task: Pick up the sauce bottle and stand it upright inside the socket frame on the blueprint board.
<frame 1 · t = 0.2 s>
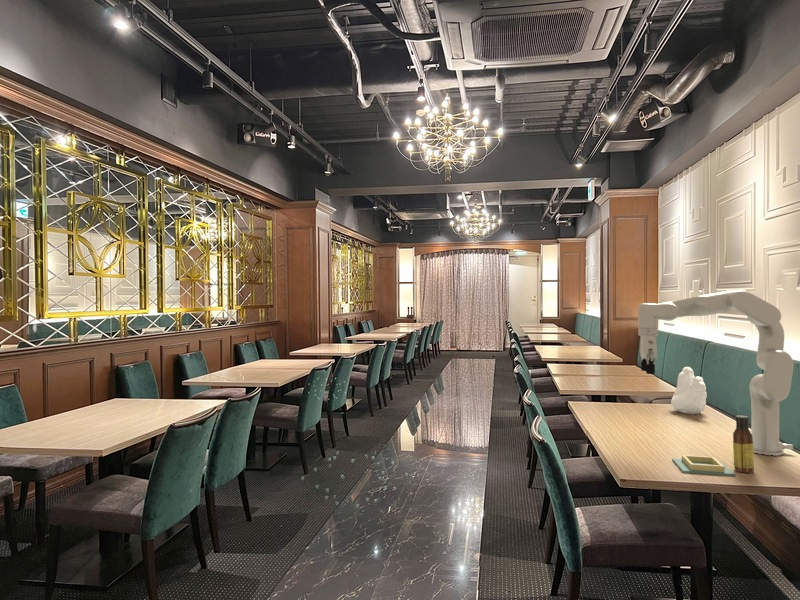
hand: (647, 372, 232), 31 cm above the table, tool pointing down, fingers open, 9 cm apart
sauce bottle: (743, 471, 198), on the table
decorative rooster: (689, 414, 294), on the table
blueprint board: (702, 468, 201), on the table
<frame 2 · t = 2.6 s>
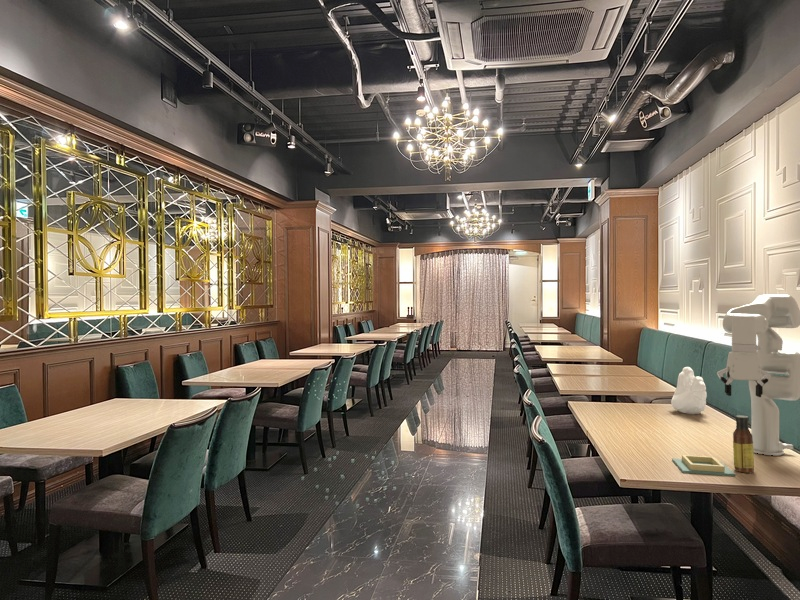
hand: (743, 395, 197), 27 cm above the table, tool pointing down, fingers open, 9 cm apart
nothing on the table moved.
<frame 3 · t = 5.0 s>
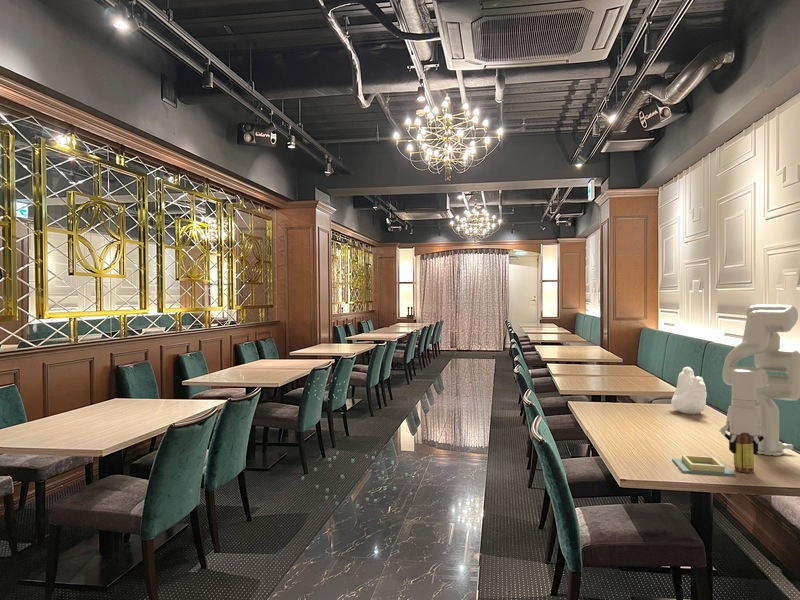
hand: (743, 452, 198), 7 cm above the table, tool pointing down, fingers closed on sauce bottle, 6 cm apart
sauce bottle: (743, 471, 198), on the table, touching gripper
everything else where it was.
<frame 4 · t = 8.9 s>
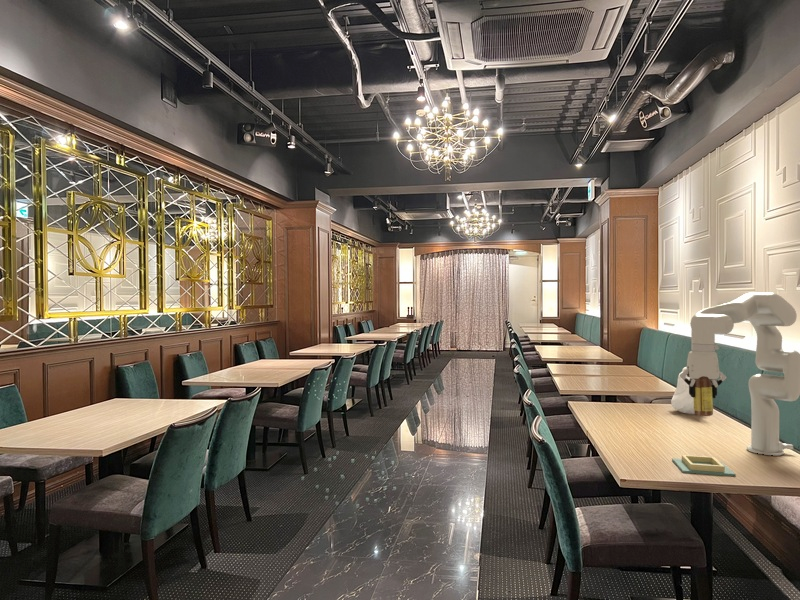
hand: (702, 396, 201), 26 cm above the table, tool pointing down, fingers closed on sauce bottle, 6 cm apart
sauce bottle: (702, 415, 201), point 20 cm above the table, touching gripper
everything else where it was.
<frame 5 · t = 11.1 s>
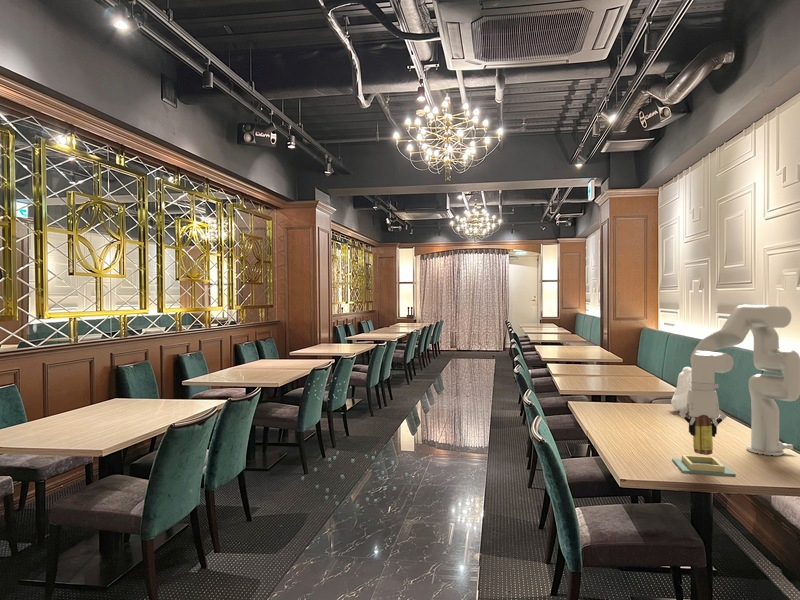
hand: (702, 435, 201), 12 cm above the table, tool pointing down, fingers closed on sauce bottle, 6 cm apart
sauce bottle: (702, 453, 201), point 5 cm above the table, touching gripper
everything else where it was.
when the fingers open (9 cm above the table, at t = 12.9 s): sauce bottle drops 1 cm, resting on blueprint board.
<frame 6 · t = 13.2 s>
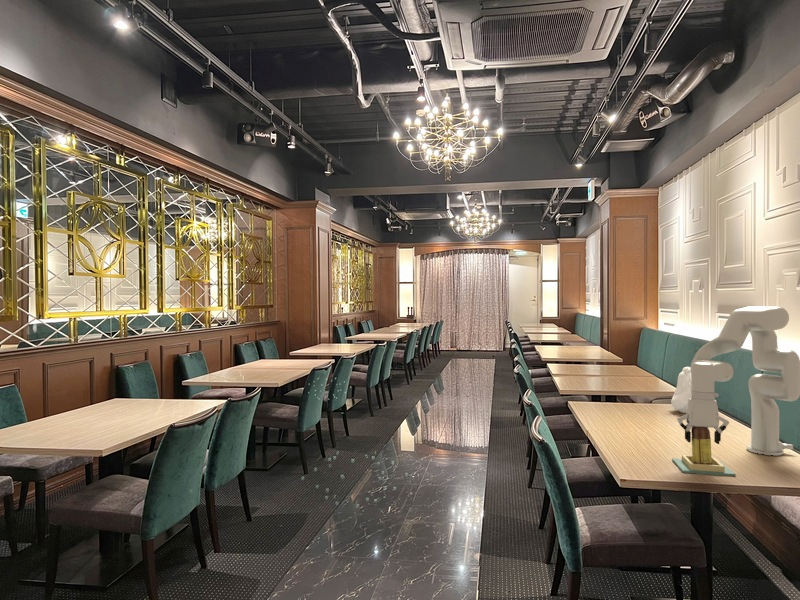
hand: (702, 442, 201), 10 cm above the table, tool pointing down, fingers open, 9 cm apart
sauce bottle: (701, 466, 201), point 1 cm above the table, touching blueprint board
everything else where it was.
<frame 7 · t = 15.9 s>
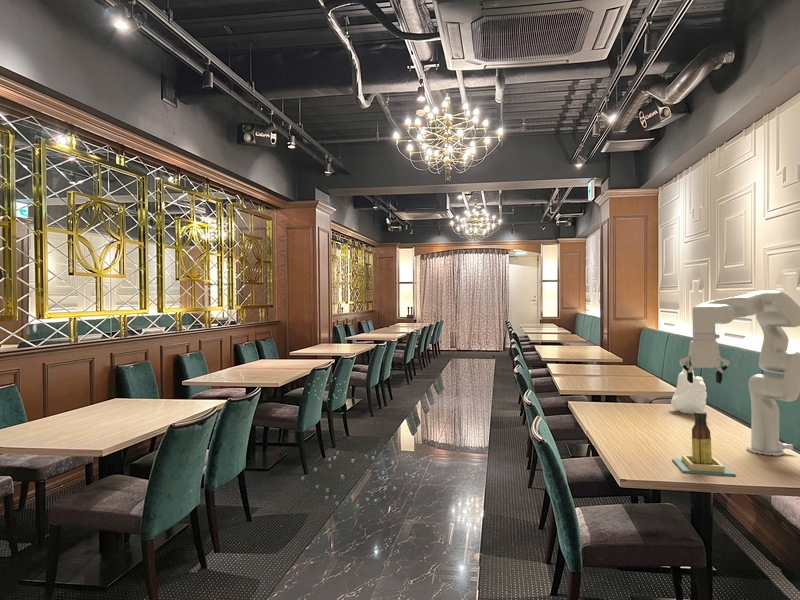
hand: (704, 382, 207), 31 cm above the table, tool pointing down, fingers open, 9 cm apart
nothing on the table moved.
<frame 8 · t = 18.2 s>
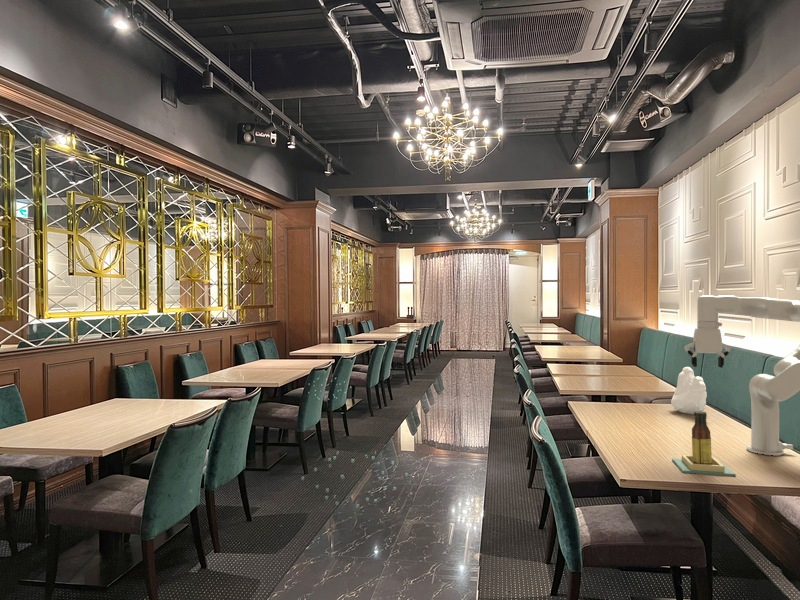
hand: (707, 366, 225), 34 cm above the table, tool pointing down, fingers open, 9 cm apart
nothing on the table moved.
at the end: sauce bottle 0.3 cm off-centre on the blueprint board, point 0.6 cm above the blueprint board's base; sauce bottle tilted 0°; the gripper is holding nothing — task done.
